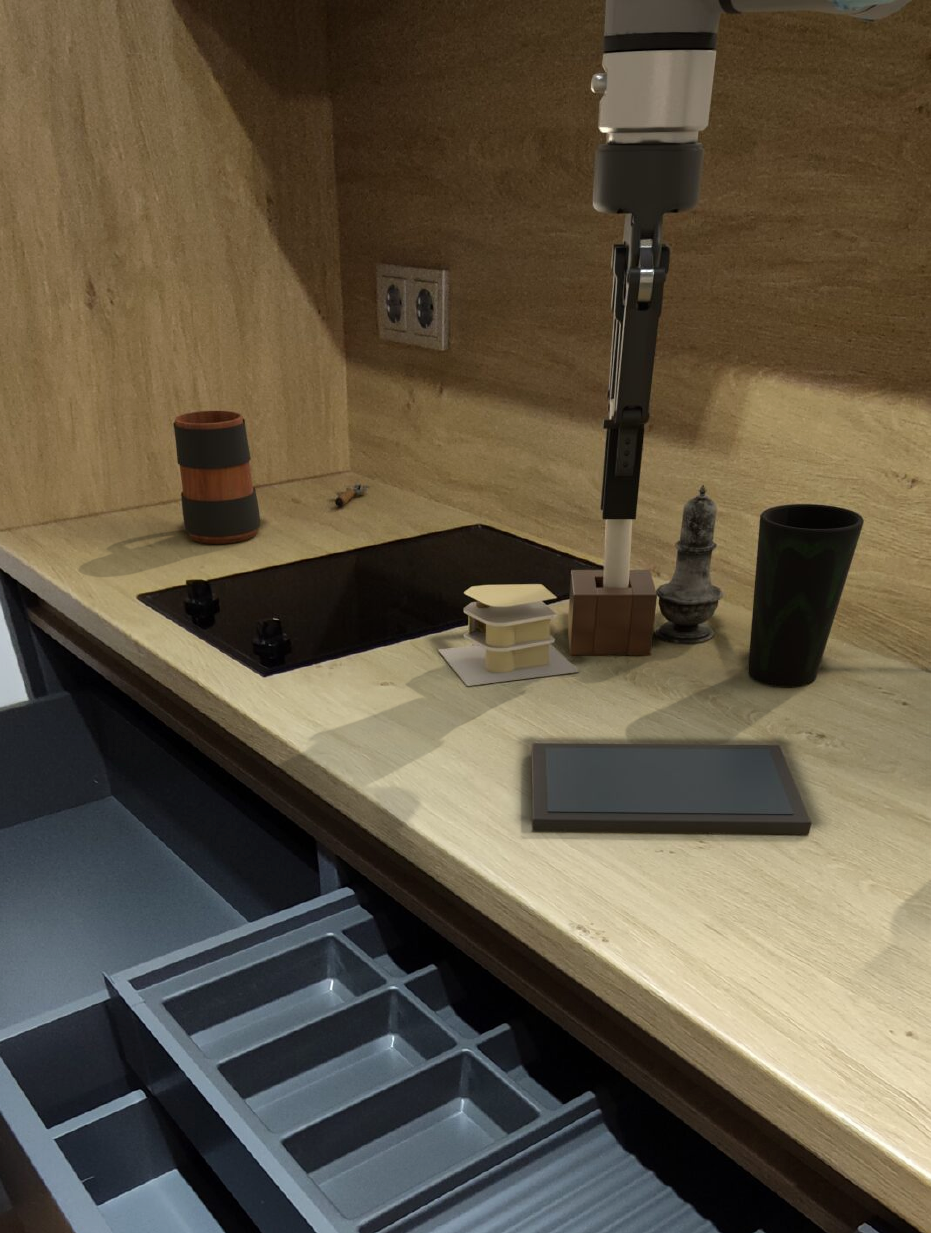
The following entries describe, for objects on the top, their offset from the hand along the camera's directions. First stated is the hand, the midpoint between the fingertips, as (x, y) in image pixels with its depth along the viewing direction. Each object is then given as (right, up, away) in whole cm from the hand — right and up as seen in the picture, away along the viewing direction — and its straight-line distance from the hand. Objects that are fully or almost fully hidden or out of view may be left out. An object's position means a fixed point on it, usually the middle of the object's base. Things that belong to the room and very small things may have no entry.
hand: (617, 512), depth 93 cm
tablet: (0, -28, -15) cm, 32 cm away
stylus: (+1, -6, +5) cm, 8 cm away
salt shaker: (+7, -7, +8) cm, 13 cm away
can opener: (-26, +26, +46) cm, 59 cm away
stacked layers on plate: (-9, -11, +4) cm, 15 cm away
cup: (+14, -14, 0) cm, 19 cm away
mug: (-40, +17, +36) cm, 57 cm away
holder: (0, -8, +7) cm, 10 cm away
